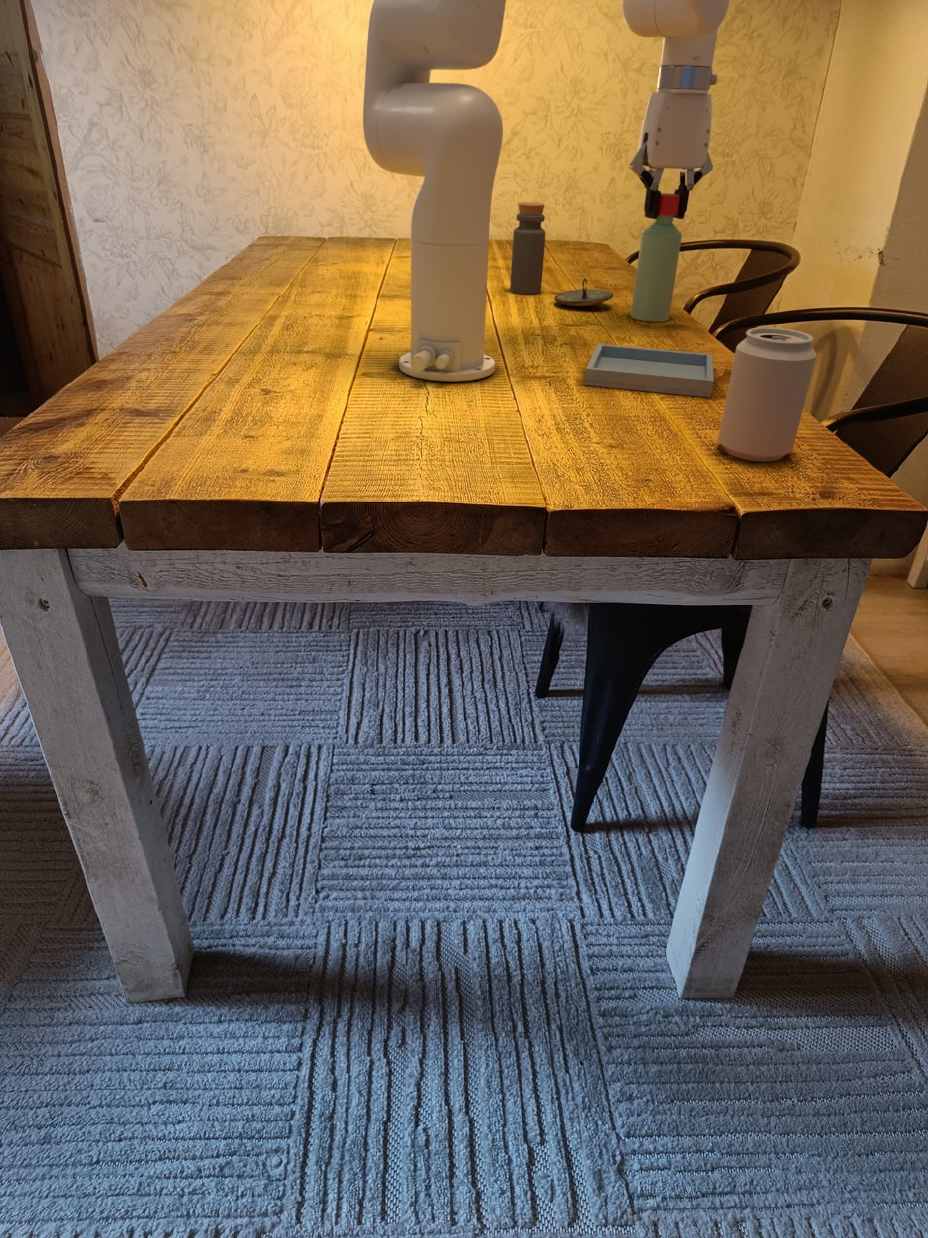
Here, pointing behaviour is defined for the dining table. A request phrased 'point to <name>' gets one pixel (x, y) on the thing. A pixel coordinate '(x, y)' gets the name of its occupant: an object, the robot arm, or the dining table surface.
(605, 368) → the tray
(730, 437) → the can
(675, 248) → the water bottle
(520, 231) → the bottle
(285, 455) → the dining table surface
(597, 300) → the lid
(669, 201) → the cap
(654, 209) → the robot arm
